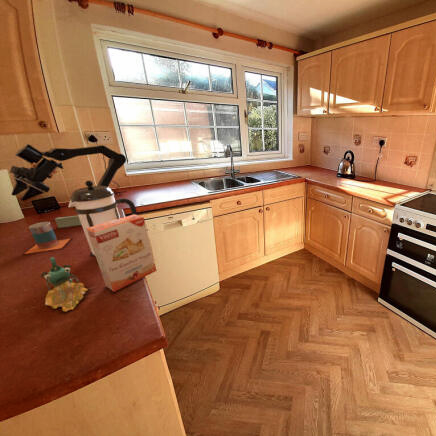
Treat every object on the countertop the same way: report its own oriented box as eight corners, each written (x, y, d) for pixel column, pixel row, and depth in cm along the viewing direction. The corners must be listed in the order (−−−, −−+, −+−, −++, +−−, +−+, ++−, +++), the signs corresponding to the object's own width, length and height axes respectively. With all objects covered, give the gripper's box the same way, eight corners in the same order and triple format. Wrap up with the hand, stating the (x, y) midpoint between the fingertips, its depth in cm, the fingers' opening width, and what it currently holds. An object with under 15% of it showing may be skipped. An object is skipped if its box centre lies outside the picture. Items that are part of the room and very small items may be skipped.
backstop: (88, 223, 130) (84, 214, 128) (87, 224, 129) (83, 215, 127) (59, 226, 126) (56, 217, 124) (58, 228, 124) (54, 219, 123)
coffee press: (123, 261, 93) (99, 184, 82) (79, 263, 92) (49, 186, 81) (145, 241, 109) (127, 174, 98) (108, 242, 108) (86, 175, 97)
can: (61, 241, 109) (52, 220, 106) (54, 247, 104) (45, 226, 100) (42, 244, 107) (33, 223, 103) (35, 250, 101) (25, 228, 98)
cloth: (70, 239, 112) (70, 238, 112) (61, 248, 103) (61, 248, 103) (36, 244, 108) (36, 243, 108) (24, 254, 99) (24, 254, 99)
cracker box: (114, 293, 75) (93, 232, 68) (105, 286, 78) (84, 227, 71) (158, 271, 86) (144, 216, 79) (148, 266, 89) (134, 213, 82)
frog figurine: (84, 277, 84) (70, 240, 77) (93, 308, 72) (78, 267, 66) (46, 289, 78) (28, 250, 71) (49, 325, 66) (27, 282, 60)
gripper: (13, 155, 110) (-16, 182, 105) (33, 163, 103) (3, 193, 98) (40, 170, 120) (16, 196, 115) (60, 178, 113) (35, 206, 108)
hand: (17, 197), depth 109 cm, fingers open, 9 cm apart
